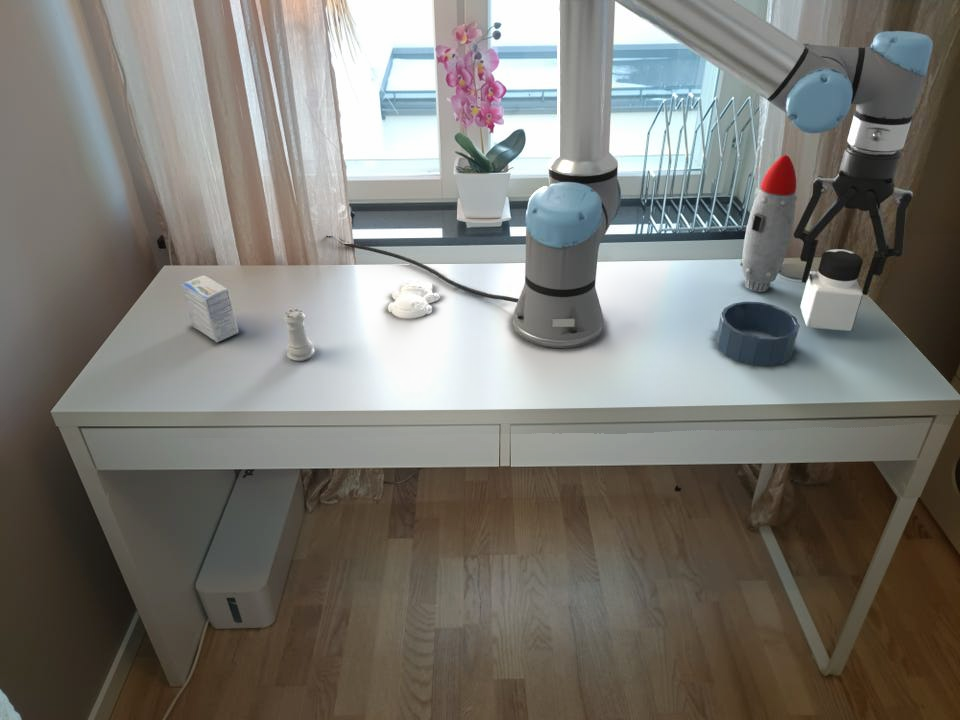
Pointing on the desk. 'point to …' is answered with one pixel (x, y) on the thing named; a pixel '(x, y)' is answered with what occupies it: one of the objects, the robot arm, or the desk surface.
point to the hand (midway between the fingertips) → (834, 284)
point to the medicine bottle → (833, 292)
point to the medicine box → (210, 308)
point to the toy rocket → (770, 226)
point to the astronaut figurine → (413, 300)
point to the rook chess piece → (298, 337)
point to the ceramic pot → (755, 347)
